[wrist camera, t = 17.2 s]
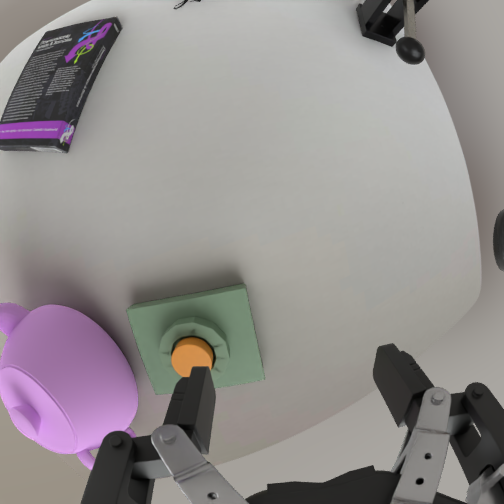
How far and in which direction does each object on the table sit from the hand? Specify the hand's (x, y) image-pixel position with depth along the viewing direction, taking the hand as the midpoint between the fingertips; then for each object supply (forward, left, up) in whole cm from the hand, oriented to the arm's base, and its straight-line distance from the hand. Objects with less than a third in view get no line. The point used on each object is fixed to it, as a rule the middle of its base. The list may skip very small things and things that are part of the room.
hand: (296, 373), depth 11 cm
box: (+21, -32, -16) cm, 41 cm away
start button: (+7, +3, -12) cm, 15 cm away
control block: (+7, +3, -16) cm, 18 cm away
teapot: (+24, +4, -16) cm, 29 cm away
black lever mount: (-24, -34, -16) cm, 44 cm away
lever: (-23, -29, -9) cm, 38 cm away
